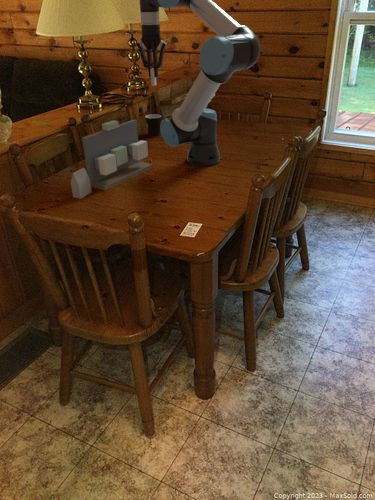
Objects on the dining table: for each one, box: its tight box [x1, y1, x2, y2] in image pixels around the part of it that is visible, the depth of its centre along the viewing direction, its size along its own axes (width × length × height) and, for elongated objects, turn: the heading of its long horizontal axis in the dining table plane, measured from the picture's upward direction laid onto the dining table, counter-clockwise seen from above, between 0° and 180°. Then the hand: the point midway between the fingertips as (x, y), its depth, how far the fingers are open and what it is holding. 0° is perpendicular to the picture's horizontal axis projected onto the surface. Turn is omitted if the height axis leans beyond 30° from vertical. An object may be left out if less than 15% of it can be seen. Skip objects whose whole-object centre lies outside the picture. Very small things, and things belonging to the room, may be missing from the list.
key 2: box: [127, 140, 149, 161], centre depth 186 cm, size 8×6×6 cm
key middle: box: [111, 146, 128, 166], centre depth 181 cm, size 8×6×6 cm
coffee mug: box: [144, 113, 162, 137], centre depth 233 cm, size 12×9×10 cm
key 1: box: [93, 154, 117, 175], centre depth 173 cm, size 8×6×6 cm
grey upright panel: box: [81, 119, 153, 191], centre depth 180 cm, size 16×30×22 cm, turn 145°
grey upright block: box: [70, 167, 92, 200], centre depth 166 cm, size 4×7×10 cm, turn 154°
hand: (153, 85), depth 187 cm, fingers closed
